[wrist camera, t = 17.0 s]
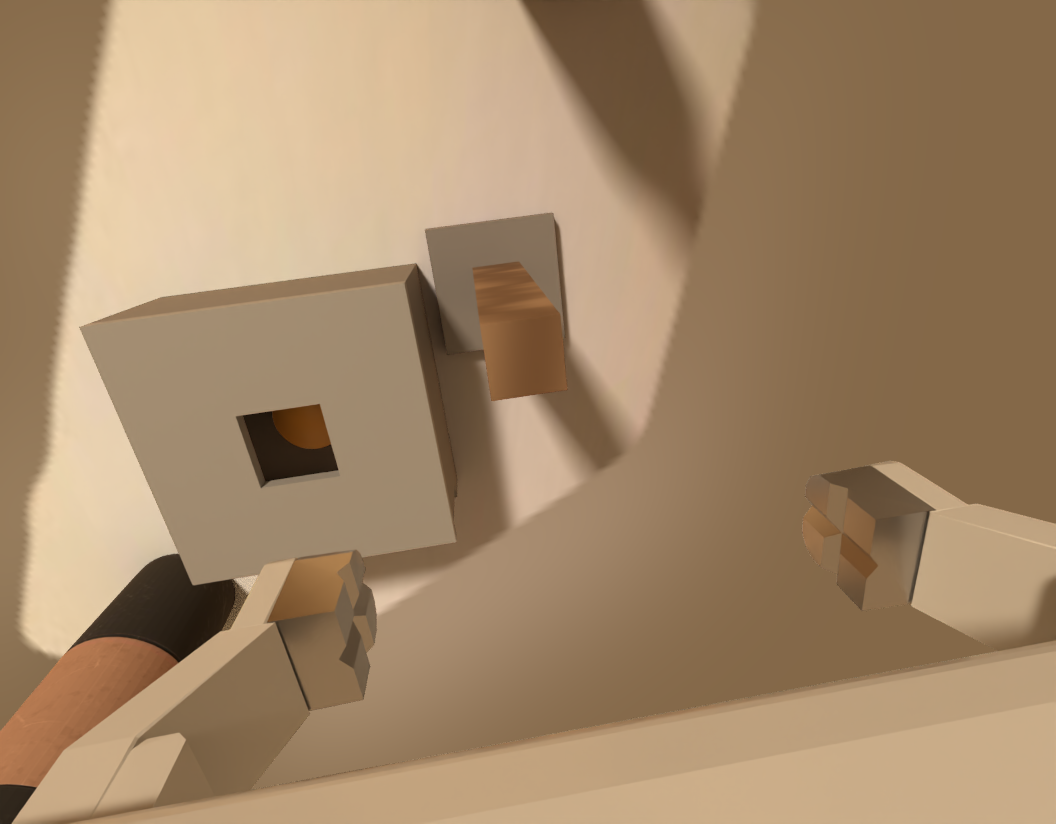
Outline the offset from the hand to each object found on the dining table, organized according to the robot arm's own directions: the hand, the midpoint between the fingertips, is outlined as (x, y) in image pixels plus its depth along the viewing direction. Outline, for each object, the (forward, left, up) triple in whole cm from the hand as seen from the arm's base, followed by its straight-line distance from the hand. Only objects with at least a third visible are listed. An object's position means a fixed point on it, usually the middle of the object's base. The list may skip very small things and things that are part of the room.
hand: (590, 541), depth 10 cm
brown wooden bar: (0, 0, -28) cm, 28 cm away
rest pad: (0, 0, -29) cm, 29 cm away
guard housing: (+13, +6, -29) cm, 32 cm away
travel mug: (+27, +20, -29) cm, 44 cm away
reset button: (+13, +6, -28) cm, 31 cm away
